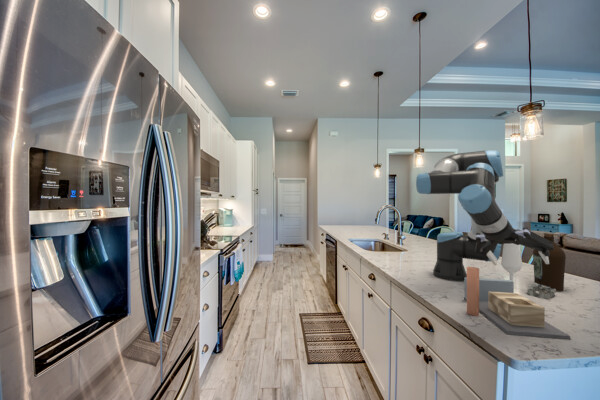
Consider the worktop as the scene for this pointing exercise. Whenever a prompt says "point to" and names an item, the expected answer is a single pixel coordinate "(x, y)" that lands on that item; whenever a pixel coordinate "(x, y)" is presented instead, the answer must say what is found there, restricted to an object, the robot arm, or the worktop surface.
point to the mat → (545, 331)
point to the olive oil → (550, 267)
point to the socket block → (516, 309)
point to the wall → (491, 287)
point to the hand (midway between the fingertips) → (519, 261)
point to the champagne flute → (511, 259)
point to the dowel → (473, 291)
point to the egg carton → (540, 291)
